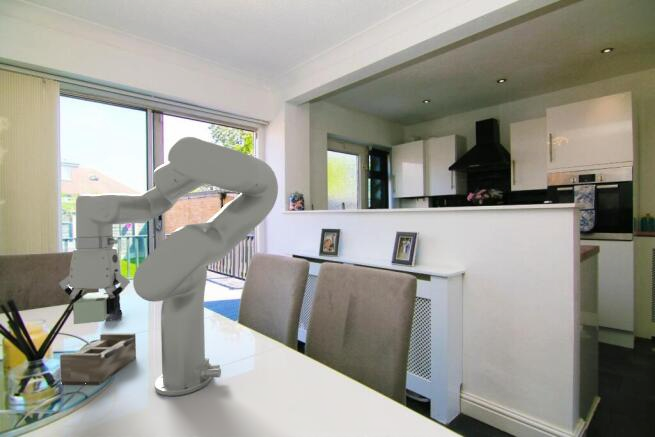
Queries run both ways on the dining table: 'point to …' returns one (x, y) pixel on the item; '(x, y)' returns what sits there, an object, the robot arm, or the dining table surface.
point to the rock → (117, 313)
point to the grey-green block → (91, 308)
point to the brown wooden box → (98, 360)
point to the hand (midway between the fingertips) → (95, 312)
